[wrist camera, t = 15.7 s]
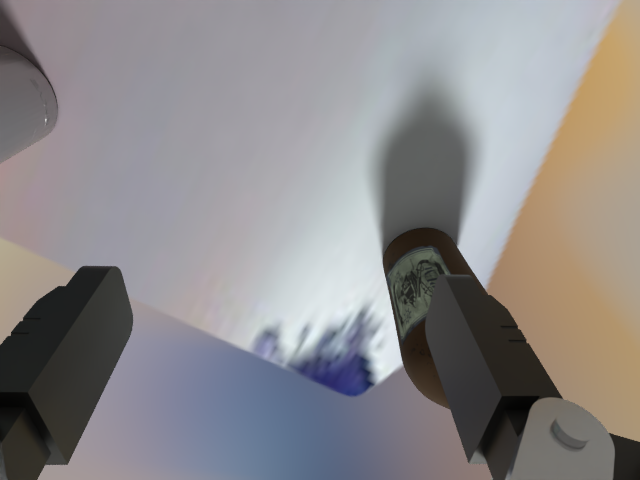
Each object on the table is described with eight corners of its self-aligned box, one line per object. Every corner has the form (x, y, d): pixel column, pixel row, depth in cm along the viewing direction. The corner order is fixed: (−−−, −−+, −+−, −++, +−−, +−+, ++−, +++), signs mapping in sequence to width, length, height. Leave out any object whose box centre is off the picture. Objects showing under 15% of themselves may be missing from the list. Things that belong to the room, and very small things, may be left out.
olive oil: (476, 260, 51) (594, 452, 30) (408, 302, 55) (472, 500, 34) (431, 206, 47) (534, 389, 26) (360, 256, 50) (401, 452, 30)
